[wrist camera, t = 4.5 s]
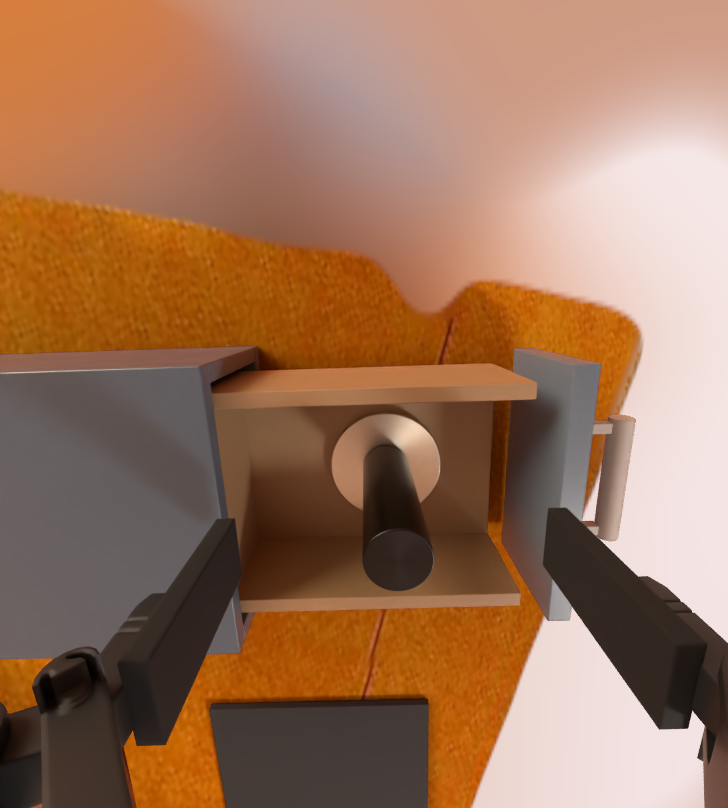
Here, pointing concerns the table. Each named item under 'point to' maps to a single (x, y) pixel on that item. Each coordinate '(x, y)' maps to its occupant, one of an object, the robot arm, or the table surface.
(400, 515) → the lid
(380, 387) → the drawer
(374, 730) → the mat
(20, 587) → the cabinet
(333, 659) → the table surface
